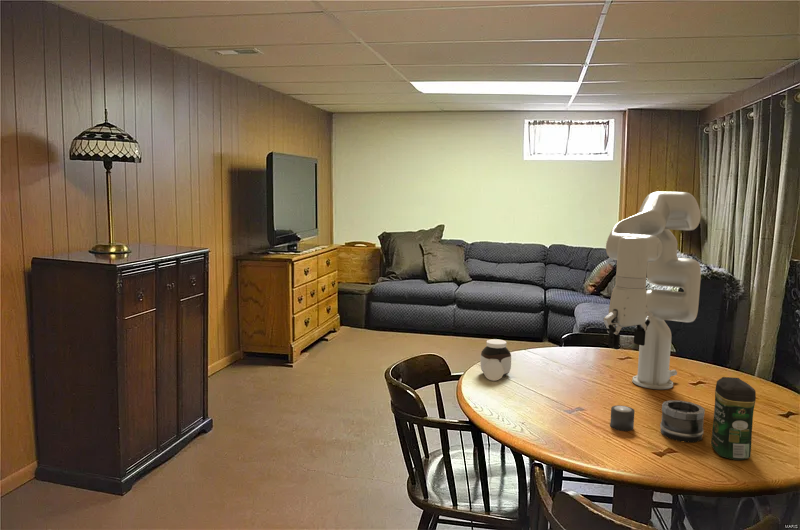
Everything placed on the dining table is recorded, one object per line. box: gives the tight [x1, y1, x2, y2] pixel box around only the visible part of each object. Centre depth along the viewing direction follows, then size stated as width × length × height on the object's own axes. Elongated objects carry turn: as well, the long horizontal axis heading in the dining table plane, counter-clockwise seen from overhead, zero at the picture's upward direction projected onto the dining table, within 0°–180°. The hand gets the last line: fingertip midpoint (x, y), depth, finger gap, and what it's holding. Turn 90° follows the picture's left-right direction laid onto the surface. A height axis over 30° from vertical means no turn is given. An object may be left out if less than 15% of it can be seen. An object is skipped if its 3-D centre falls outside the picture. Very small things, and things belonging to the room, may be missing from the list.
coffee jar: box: [710, 376, 757, 461], centre depth 151 cm, size 10×8×19 cm
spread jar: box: [479, 338, 512, 382], centre depth 209 cm, size 12×11×12 cm
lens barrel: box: [659, 399, 706, 443], centre depth 162 cm, size 10×10×8 cm
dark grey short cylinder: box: [609, 404, 635, 432], centre depth 167 cm, size 6×6×5 cm
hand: (626, 346), depth 164 cm, fingers open, 9 cm apart
